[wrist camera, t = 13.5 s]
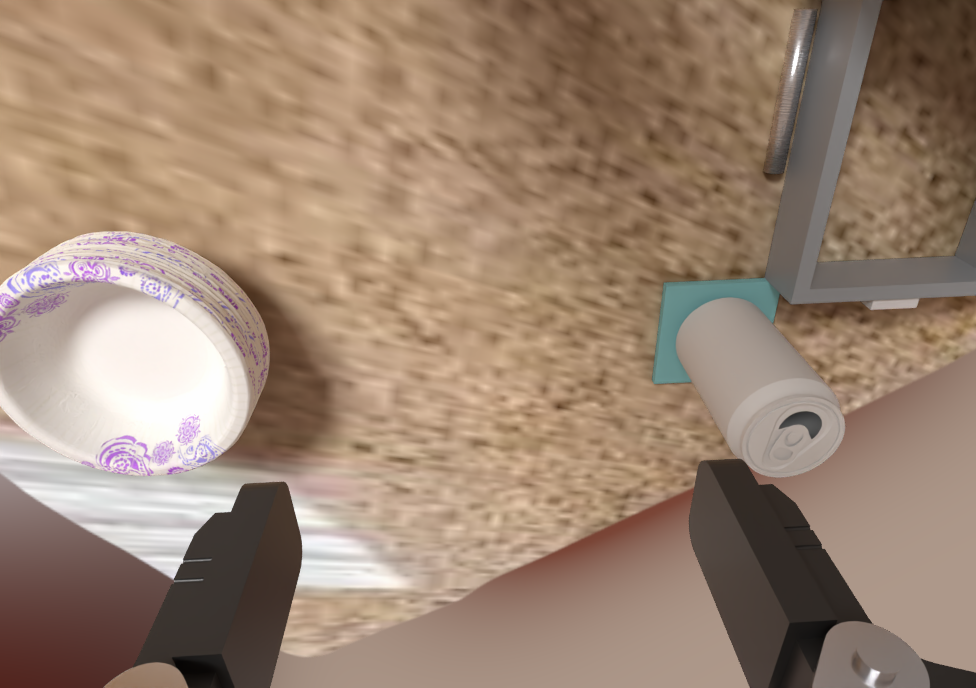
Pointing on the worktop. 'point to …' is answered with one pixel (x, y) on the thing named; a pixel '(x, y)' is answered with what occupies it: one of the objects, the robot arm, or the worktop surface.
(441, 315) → the worktop surface
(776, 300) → the pad
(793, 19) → the rod
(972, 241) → the case
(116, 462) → the paper bowls
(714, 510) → the robot arm
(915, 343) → the worktop surface
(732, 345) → the beverage can
